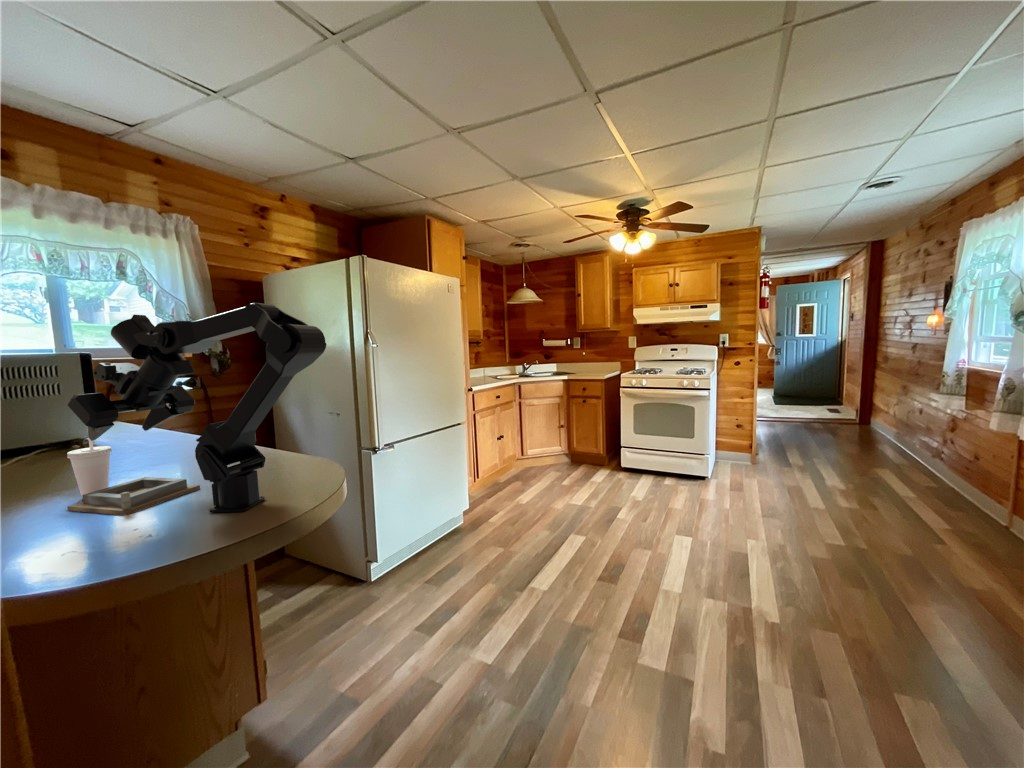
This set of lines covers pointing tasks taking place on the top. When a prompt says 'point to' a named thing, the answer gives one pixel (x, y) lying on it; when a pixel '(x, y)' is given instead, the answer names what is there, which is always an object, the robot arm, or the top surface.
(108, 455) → the smoothie
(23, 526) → the top surface
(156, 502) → the socket
